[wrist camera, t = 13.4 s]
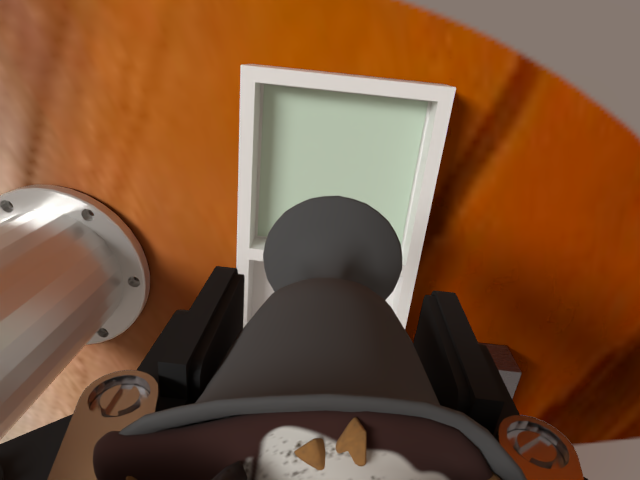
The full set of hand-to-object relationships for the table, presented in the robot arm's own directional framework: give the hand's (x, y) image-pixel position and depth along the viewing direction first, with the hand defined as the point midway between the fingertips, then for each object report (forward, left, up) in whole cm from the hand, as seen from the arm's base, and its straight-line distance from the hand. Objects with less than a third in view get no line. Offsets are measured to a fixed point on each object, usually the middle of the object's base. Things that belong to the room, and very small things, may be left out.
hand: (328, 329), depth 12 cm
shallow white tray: (0, -5, -18) cm, 19 cm away
